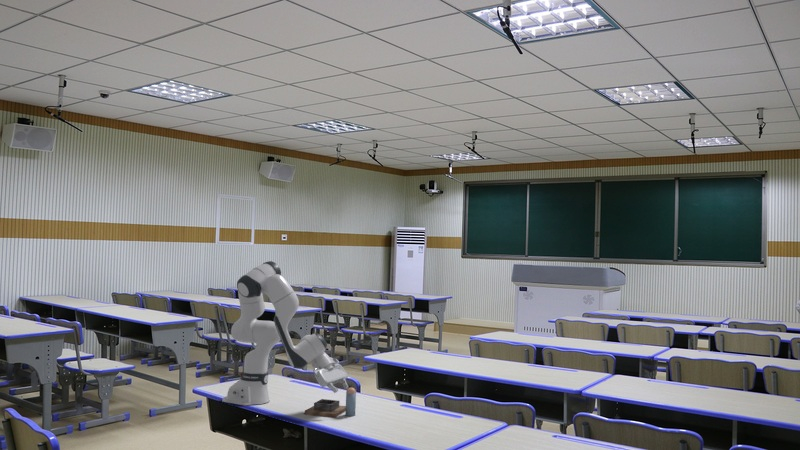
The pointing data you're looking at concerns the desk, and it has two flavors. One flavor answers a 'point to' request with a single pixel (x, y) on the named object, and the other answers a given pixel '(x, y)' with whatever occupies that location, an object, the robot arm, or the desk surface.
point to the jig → (326, 408)
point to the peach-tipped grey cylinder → (350, 402)
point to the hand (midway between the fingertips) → (341, 390)
